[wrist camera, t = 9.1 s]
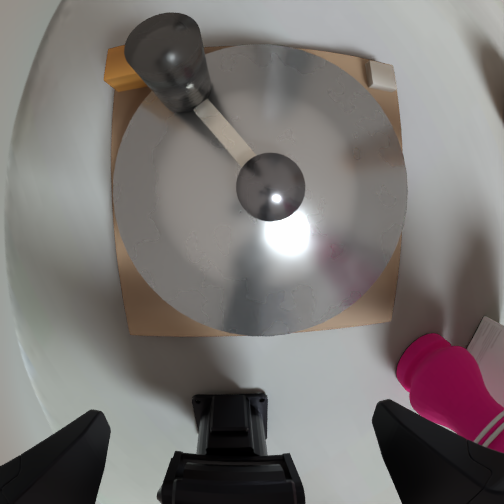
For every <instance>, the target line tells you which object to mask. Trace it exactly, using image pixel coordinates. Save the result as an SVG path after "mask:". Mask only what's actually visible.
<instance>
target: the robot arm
mask: <svg viewBox="0 0 504 504" xmlns="http://www.w3.org/2000/svg"><path fill="white" fill-rule="evenodd" d="M261 398H263V399H262V400H261ZM197 400H200V401H197ZM192 403H193V408H194V413H195V418H196V422H197V427H198V431H199V435H198V444H197V454H190V453H183V452H181V451H175V453H174V456H173V458H171V461H170V464H169V467H168V470H167V473H166V475H165V478H164V481H163V484H162V486H161V488H160V489H159V491H158V493H157V499H158V500H159V501H160V503H161V504H305V494H304V489H303V485H302V482H301V480H300V477H299V475H298V472H297V470H296V467H295V465H294V463H293V460H292V458H291V455H290V453H286V454H282V455H269V456H268V455H267V447H266V439H267V407H268V399H267V395H266V394H262V393H260V394H239V395H195V396H193V399H192ZM372 424H373V427H374V431H375V434H376V437H377V440H378V444H379V447H380V451H381V454H382V457H383V460H384V462H385V465H386V467H387V469H388V471H389V474H390V476H391V478H392V481H393V483H394V485H395V488H396V490H397V492H398V495H399V497H400V500H401V502H402V504H504V453H502V452H499V451H496V450H493V449H490V448H487V447H484V446H482V445H480V444H477V443H475V442H473V441H471V440H467V439H466V438H464V437H462V436H460V435H458V434H456V433H454V432H452V431H450V430H448V429H446V428H444V427H442V426H440V425H438V424H436V423H434V422H432V421H430V420H428V419H426V418H424V417H422V416H420V415H418V414H416V413H414V412H413V411H411V410H409V409H407V408H405V407H403V406H401V405H400V404H398V403H396V402H394V401H392V400H390V399H387V400H383V401H379V402H378V403H377V405H376V408H375V411H374V414H373V417H372ZM110 433H111V430H110V426H109V424H108V422H107V420H106V418H105V416H104V414H103V412H102V411H98V410H89V411H88V412H86V413H85V414H83V415H82V416H80V417H79V418H77V419H76V420H74V421H73V422H71V423H70V424H68V425H67V426H65V427H64V428H62V429H61V430H59V431H57V432H56V433H54V434H53V435H51V436H50V437H48V438H47V439H45V440H44V441H42V442H40V443H39V444H37V445H36V446H34V447H32V448H31V449H29V450H27V451H26V452H24V453H23V454H21V455H20V456H18V457H16V458H14V459H13V460H11V461H9V462H7V463H5V464H4V465H2V466H0V504H95V502H96V498H97V494H98V490H99V486H100V483H101V479H102V475H103V472H104V468H105V462H106V456H107V450H108V444H109V439H110Z"/></svg>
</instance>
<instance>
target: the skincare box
mask: <svg viewBox="0 0 504 504" xmlns="http://www.w3.org/2000/svg"><path fill="white" fill-rule="evenodd" d="M466 350H467V351H468V352H469V353H470V354H471V355H472V356H473V357H474V358H475V360H476V362H477V363H478V366H479V368H480V371H481V374H482V377H483V381H484V383H485V386H486V388H487V390H488V392H489V393H490V395H491V396H492V397H493V398H494V399H495V401H496V402H497V403H498V404H500V405H501V406H503V407H504V326H503V325H501V324H500V323H498V322H496V321H494V320H492V319H490V318H488V317H486V316H484V317H483V319H482V321H481V323H480V325H479V327H478V329H477V331H476V333H475V335H474V337H473V338H472V340H471V342H470V344H469V346H468V347H467V349H466Z"/></svg>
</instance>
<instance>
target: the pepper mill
mask: <svg viewBox="0 0 504 504" xmlns="http://www.w3.org/2000/svg"><path fill="white" fill-rule="evenodd" d="M396 374H397V379H398V381H399V382H400V383H401V385H402V386H403V387H404V388H405V390H406V391H408V392H410V395H409V397H410V403H411V405H412V407H413V409H414V410H415V411H416V412H417V413H418V414H419V415H421V416H422V417H424V418H426V419H428V420H430V421H432V422H434V423H437V424H440V425H443V426H445V427H448V428H450V429H451V430H453V431H454V432H456V433H457V434H458V435H460V436H462V437H464V438H466V439H467V440H471V441H473V442H475V443H477V444H480V445H482V446H484V447H487V448H490V449H493V450H496V451H499V452H502V453H504V407H503V406H501V405H500V404H498V403H497V402H496V401H495V399H494V398H493V397H492V396H491V395H490V393H489V392H488V390H487V388H486V386H485V383H484V381H483V377H482V374H481V371H480V368H479V366H478V363H477V362H476V360H475V358H474V357H473V356H472V355H471V354H470V353H469V352H468V351H467V350H466V349H465V348H463V347H460V346H451V344H450V343H449V342H448V341H447V340H445V339H444V338H443V337H442V336H440V335H439V334H436V333H430V334H426V335H424V336H422V337H420V338H418V339H417V340H416V341H414V342H413V343H412V344H411V345H410V346H409V347H408V348H407V349H406V351H405V352H404V354H403V355H402V357H401V358H400V361H399V363H398V366H397V372H396Z"/></svg>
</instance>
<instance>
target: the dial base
mask: <svg viewBox="0 0 504 504" xmlns="http://www.w3.org/2000/svg"><path fill="white" fill-rule="evenodd" d="M124 47H125V45H122V46H118V47H114V48H110V49H108V54H107V60H106V67H105V74H104V81H105V82H106V83H108V84H109V85H110V86H111V87H113V88H114V89H115V91H114V103H113V117H112V140H111V183H112V207H113V222H114V234H115V244H116V253H117V261H118V269H119V276H120V283H121V290H122V296H123V301H124V307H125V312H126V318H127V323H128V328H129V332H130V335H140V336H174V337H213V336H247V335H239V334H232V333H228V332H224V331H220V330H217V329H213V328H211V327H208V326H206V325H203V324H201V323H198V322H196V321H194V320H192V319H191V318H189V317H187V316H185V315H184V314H182V313H180V312H179V311H177V310H176V309H175V308H173V307H172V306H171V305H169V304H168V303H167V302H165V301H164V300H163V299H162V298H161V297H160V296H159V295H158V294H157V293H156V292H155V291H154V290H153V289H152V288H151V287H150V286H149V285H148V284H147V282H146V281H145V280H144V278H143V277H142V276H141V275H140V273H139V272H138V271H137V269H136V267H135V265H134V264H133V262H132V260H131V259H130V257H129V255H128V253H127V251H126V248H125V246H124V243H123V241H122V239H121V236H120V233H119V229H118V225H117V221H116V217H115V210H114V201H113V176H114V169H115V163H116V157H117V154H118V150H119V147H120V144H121V141H122V138H123V135H124V133H125V131H126V129H127V127H128V125H129V122H130V120H131V118H132V117H133V115H134V114H135V112H136V111H137V109H138V108H139V106H140V105H141V103H142V102H143V101H144V99H145V98H146V97H147V96H148V95H149V94H150V93H151V91H152V90H151V89H150V88H149V87H148V86H147V84H146V83H145V82H144V81H143V80H142V79H141V78H140V76H139V75H138V74H137V73H136V72H135V71H134V70H133V68H132V67H131V66H130V65H129V64H128V62H127V61H126V59H125V55H124ZM228 47H234V46H219V47H203V48H204V52H205V54H208V53H211V52H214V51H217V50H220V49H224V48H228ZM295 49H299V50H303V51H306V52H308V53H311V54H314V55H316V56H319V57H321V58H323V59H325V60H327V61H329V62H331V63H333V64H335V65H336V66H338V67H340V68H341V69H342V70H344V71H345V72H347V73H348V74H349V75H351V76H352V77H354V78H355V79H356V80H357V81H358V82H359V83H360V84H361V85H362V86H363V87H364V88H365V89H366V90H368V92H369V93H370V94H371V95H372V96H373V98H374V99H375V100H376V101H377V102H378V104H379V105H380V106H381V108H382V109H383V111H384V113H385V114H386V116H387V117H388V119H389V121H390V123H391V125H392V127H393V129H394V131H395V133H396V135H397V138H398V141H399V144H400V147H401V150H402V136H401V123H400V113H399V104H398V96H397V86H396V80H395V74H394V68H393V65H389V64H385V63H381V62H377V61H373V60H369V59H364V58H360V57H355V56H349V55H344V54H338V53H332V52H325V51H318V50H309V49H300V48H295ZM401 238H402V232H401V235H400V238H399V241H398V244H397V246H396V248H395V250H394V253H393V255H392V257H391V259H390V261H389V263H388V264H387V266H386V267H385V269H384V270H383V272H382V273H381V275H380V277H379V278H378V279H377V280H376V281H375V283H374V284H373V285H372V286H371V287H370V289H369V290H368V291H367V292H366V293H365V294H364V295H363V296H361V297H360V298H359V299H358V300H357V301H356V302H355V303H354V304H352V305H351V306H350V307H348V308H347V309H345V310H344V311H343V312H341V313H340V314H338V315H336V316H335V317H333V318H331V319H329V320H327V321H325V322H323V323H321V324H318V325H316V326H313V327H311V328H308V329H305V330H301V331H298V332H309V331H319V330H329V329H338V328H347V327H355V326H363V325H370V324H377V323H384V322H390V321H391V319H392V313H393V307H394V301H395V294H396V287H397V279H398V271H399V261H400V251H401ZM294 333H297V332H294Z"/></svg>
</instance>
